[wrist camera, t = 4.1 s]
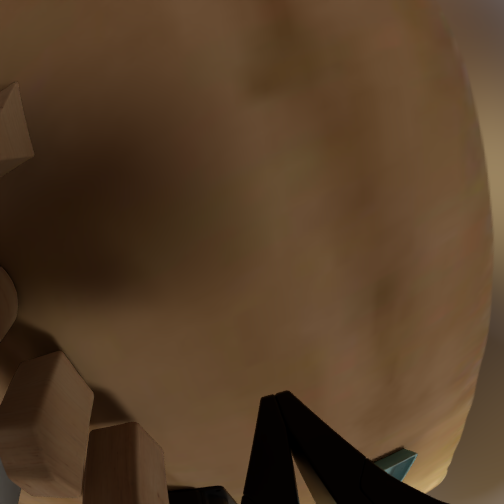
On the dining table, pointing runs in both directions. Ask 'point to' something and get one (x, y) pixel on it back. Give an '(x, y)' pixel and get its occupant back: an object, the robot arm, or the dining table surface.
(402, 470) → the shallow long dish
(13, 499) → the board
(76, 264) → the dining table surface
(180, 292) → the dining table surface
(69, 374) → the wooden block set
